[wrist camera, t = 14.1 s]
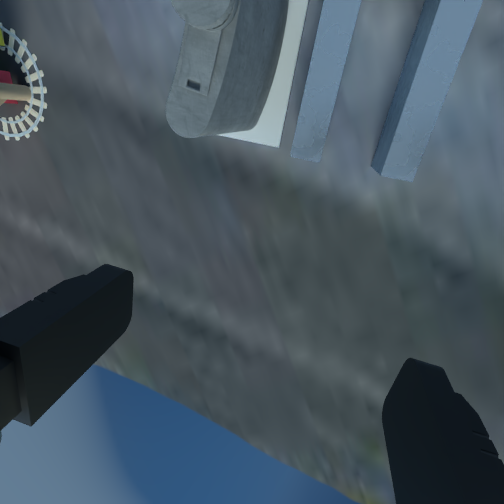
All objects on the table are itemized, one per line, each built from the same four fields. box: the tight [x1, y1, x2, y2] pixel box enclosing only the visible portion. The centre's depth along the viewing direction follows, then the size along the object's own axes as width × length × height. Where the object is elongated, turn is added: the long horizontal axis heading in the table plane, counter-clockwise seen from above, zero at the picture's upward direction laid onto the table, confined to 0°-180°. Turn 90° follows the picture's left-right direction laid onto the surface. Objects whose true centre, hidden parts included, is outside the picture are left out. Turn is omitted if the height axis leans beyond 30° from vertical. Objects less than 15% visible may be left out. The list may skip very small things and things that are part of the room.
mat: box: [217, 0, 309, 148], centre depth 34 cm, size 8×18×1 cm, turn 170°
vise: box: [290, 0, 483, 182], centre depth 30 cm, size 14×19×7 cm
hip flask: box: [166, 0, 289, 138], centre depth 25 cm, size 16×4×20 cm, turn 166°
